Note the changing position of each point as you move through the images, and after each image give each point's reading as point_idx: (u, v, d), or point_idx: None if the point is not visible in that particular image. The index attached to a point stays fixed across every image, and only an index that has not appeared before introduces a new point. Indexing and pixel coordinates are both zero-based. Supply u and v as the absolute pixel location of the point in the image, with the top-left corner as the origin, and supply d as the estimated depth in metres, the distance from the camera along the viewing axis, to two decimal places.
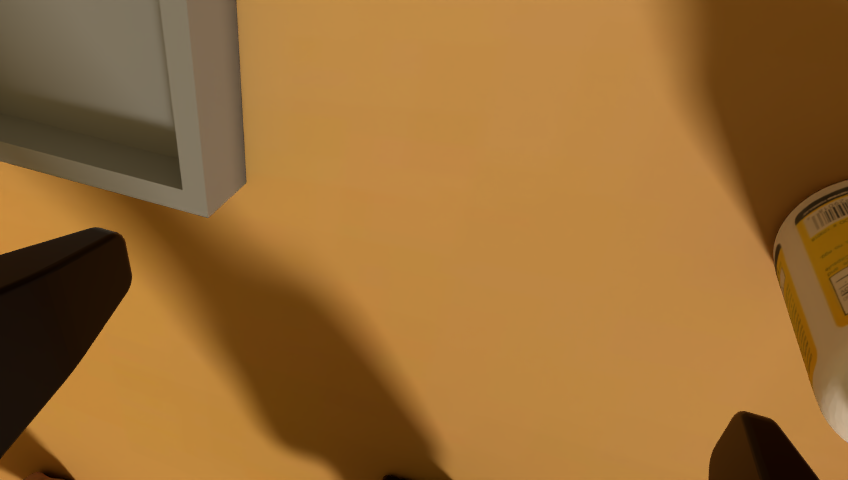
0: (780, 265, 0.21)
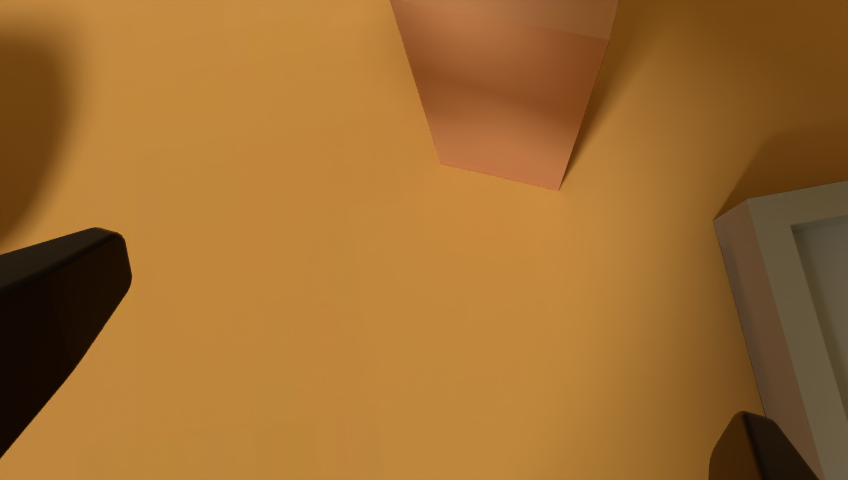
0: None
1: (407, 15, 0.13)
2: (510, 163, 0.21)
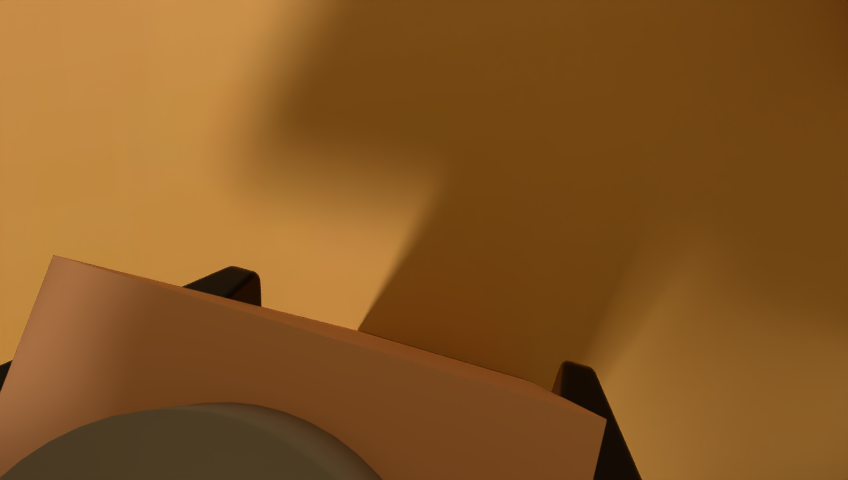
0: None
1: None
2: None
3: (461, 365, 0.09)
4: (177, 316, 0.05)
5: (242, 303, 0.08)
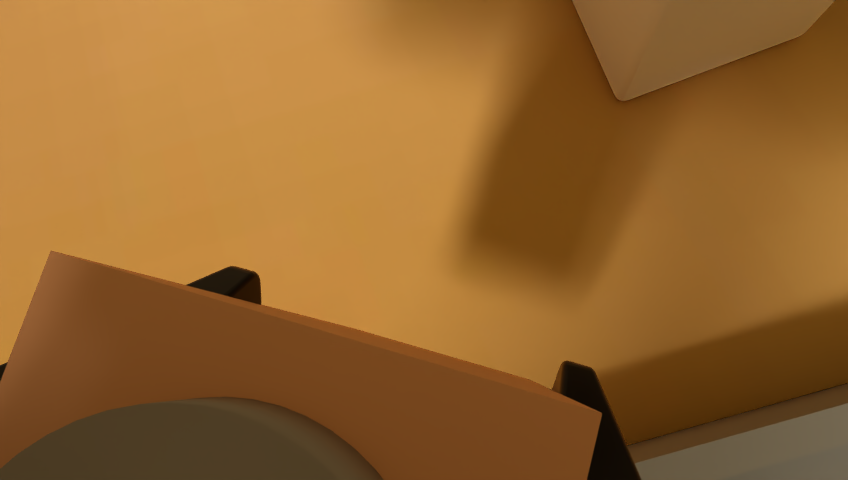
0: None
1: None
2: None
3: (459, 362, 0.09)
4: (175, 311, 0.05)
5: (240, 300, 0.08)
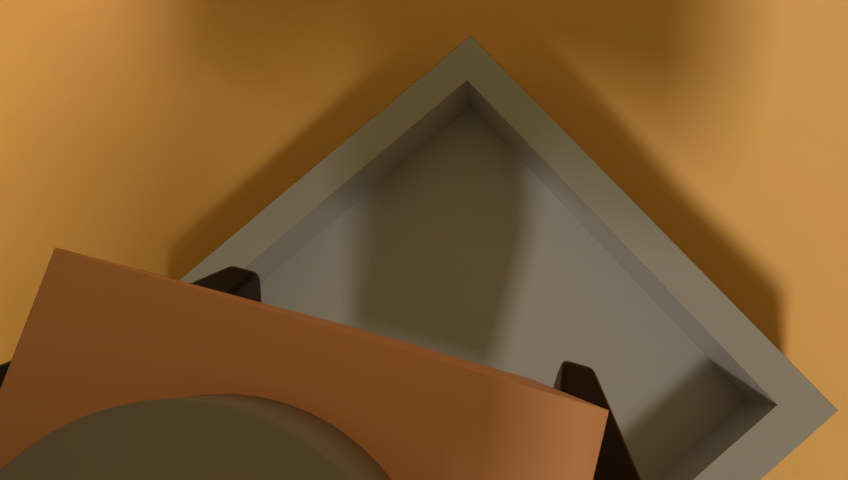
0: None
1: None
2: None
3: (462, 361, 0.09)
4: (179, 308, 0.05)
5: (243, 298, 0.08)
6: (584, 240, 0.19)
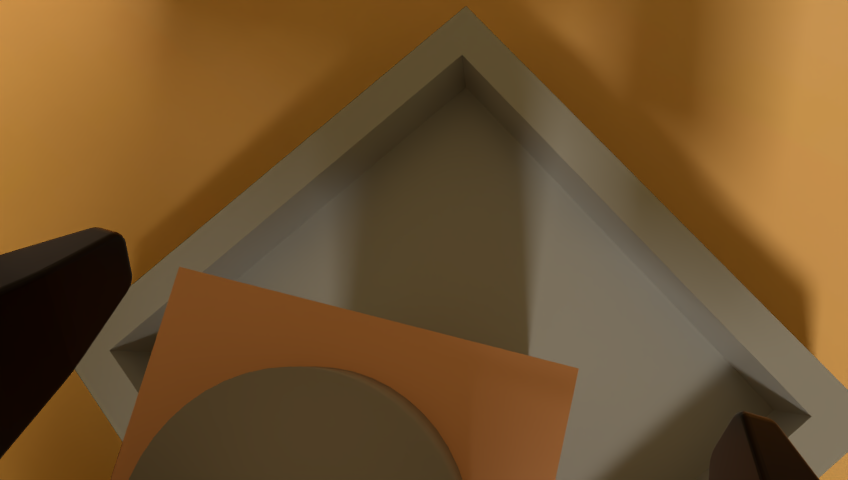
0: None
1: None
2: None
3: None
4: (273, 307, 0.07)
5: None
6: (590, 232, 0.17)
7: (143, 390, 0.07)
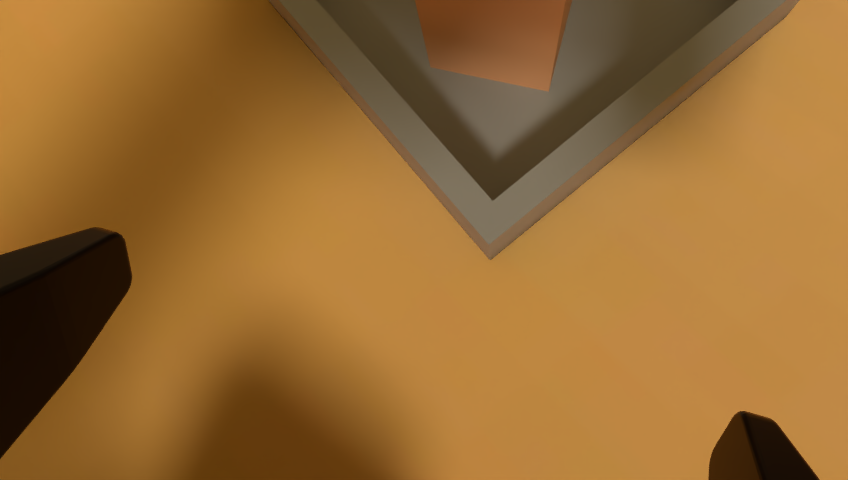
0: None
1: None
2: (500, 56, 0.21)
3: None
4: None
5: None
6: None
7: None
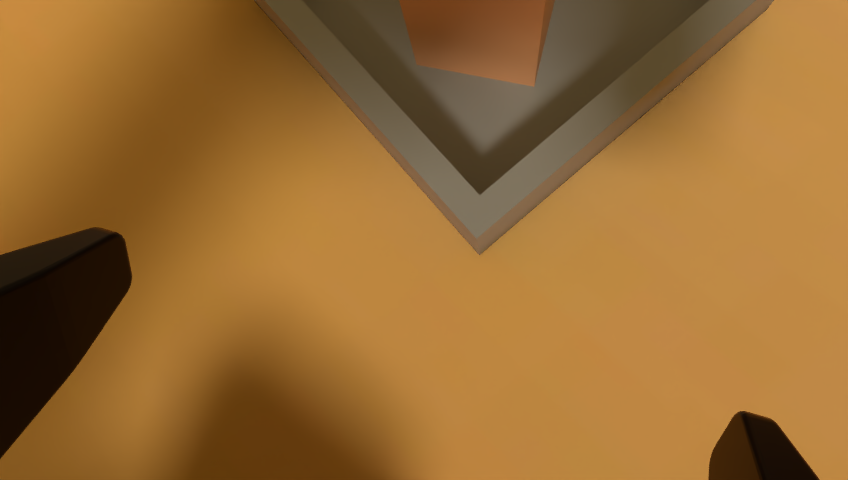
0: None
1: None
2: (484, 52, 0.21)
3: None
4: None
5: None
6: None
7: None
